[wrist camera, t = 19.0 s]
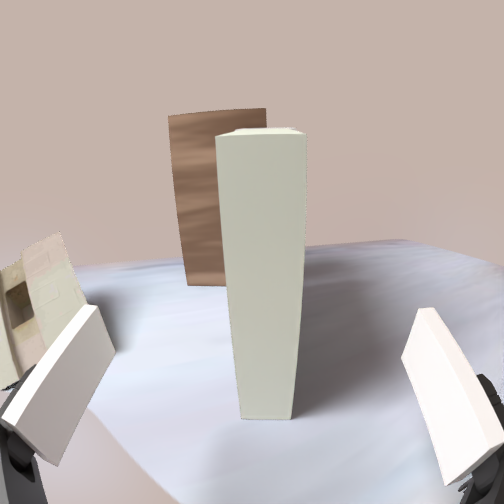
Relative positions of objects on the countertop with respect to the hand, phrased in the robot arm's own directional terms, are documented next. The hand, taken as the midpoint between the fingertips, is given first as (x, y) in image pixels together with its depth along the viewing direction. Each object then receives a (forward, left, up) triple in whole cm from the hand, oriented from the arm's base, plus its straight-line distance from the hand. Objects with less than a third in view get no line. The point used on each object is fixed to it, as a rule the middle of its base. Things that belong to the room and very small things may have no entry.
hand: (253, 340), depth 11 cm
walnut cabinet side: (+11, -17, -11) cm, 23 cm away
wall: (+26, +1, -11) cm, 29 cm away
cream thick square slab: (+4, -11, -11) cm, 16 cm away
